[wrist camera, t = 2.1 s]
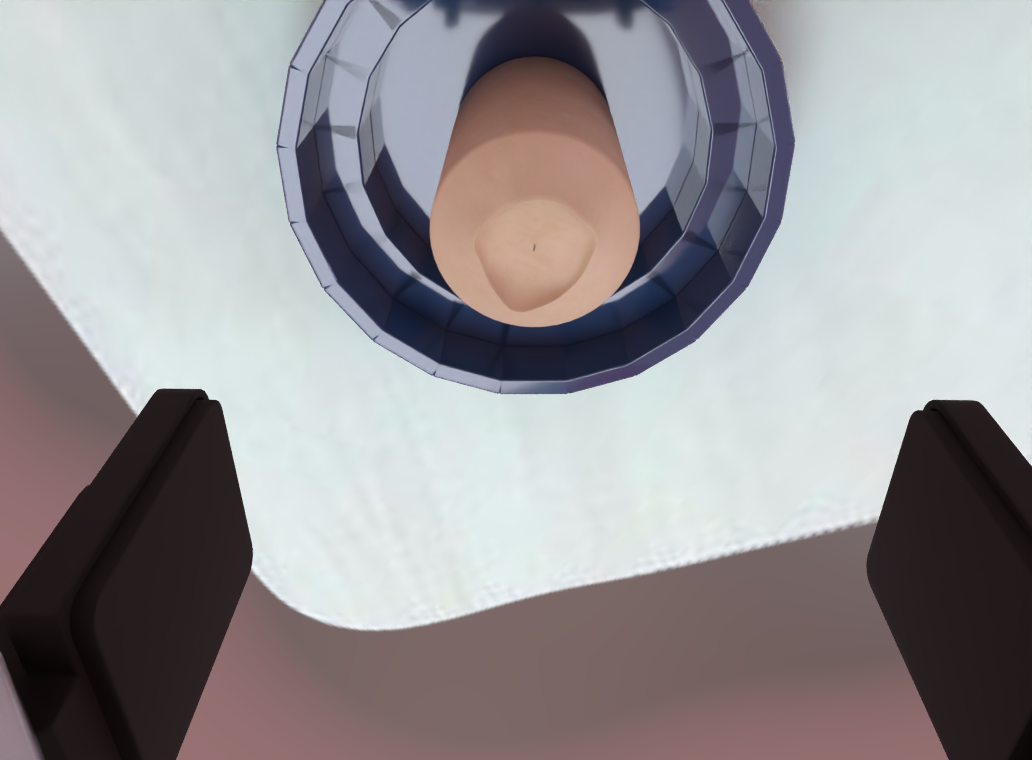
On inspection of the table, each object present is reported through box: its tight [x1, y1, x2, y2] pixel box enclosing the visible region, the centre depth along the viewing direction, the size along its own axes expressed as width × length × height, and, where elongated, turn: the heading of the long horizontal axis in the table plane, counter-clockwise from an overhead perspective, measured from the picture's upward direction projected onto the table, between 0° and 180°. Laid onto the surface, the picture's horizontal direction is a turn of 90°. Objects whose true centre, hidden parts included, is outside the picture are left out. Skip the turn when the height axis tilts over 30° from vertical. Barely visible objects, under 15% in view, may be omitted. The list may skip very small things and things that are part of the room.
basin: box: [276, 0, 795, 394], centre depth 27 cm, size 15×15×5 cm
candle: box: [430, 56, 640, 327], centre depth 25 cm, size 6×6×10 cm
